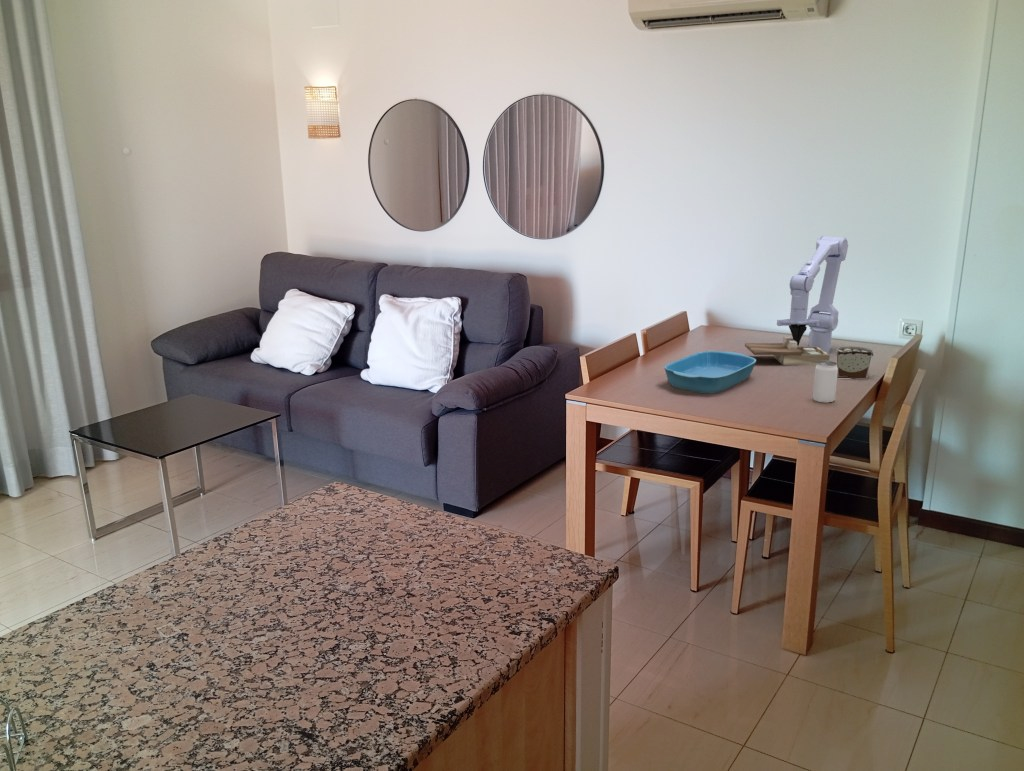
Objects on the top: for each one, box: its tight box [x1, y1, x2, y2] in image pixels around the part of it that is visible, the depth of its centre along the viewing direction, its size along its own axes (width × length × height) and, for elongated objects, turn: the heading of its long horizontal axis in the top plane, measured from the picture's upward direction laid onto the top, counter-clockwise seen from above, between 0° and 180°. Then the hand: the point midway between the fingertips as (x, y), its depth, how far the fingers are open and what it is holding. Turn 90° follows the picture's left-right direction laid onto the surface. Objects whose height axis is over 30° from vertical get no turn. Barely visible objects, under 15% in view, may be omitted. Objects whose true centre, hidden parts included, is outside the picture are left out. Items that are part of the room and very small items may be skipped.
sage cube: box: [806, 351, 821, 355], centre depth 292 cm, size 4×4×4 cm
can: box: [812, 360, 838, 404], centre depth 249 cm, size 6×6×12 cm
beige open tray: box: [772, 346, 830, 366], centre depth 295 cm, size 13×16×4 cm
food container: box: [834, 345, 874, 380], centre depth 275 cm, size 12×6×10 cm, turn 84°
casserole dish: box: [664, 350, 757, 394], centre depth 272 cm, size 37×22×7 cm, turn 138°
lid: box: [744, 336, 802, 356], centre depth 294 cm, size 14×17×4 cm
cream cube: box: [803, 348, 816, 355], centre depth 297 cm, size 4×4×4 cm
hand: (796, 345), depth 293 cm, fingers closed
